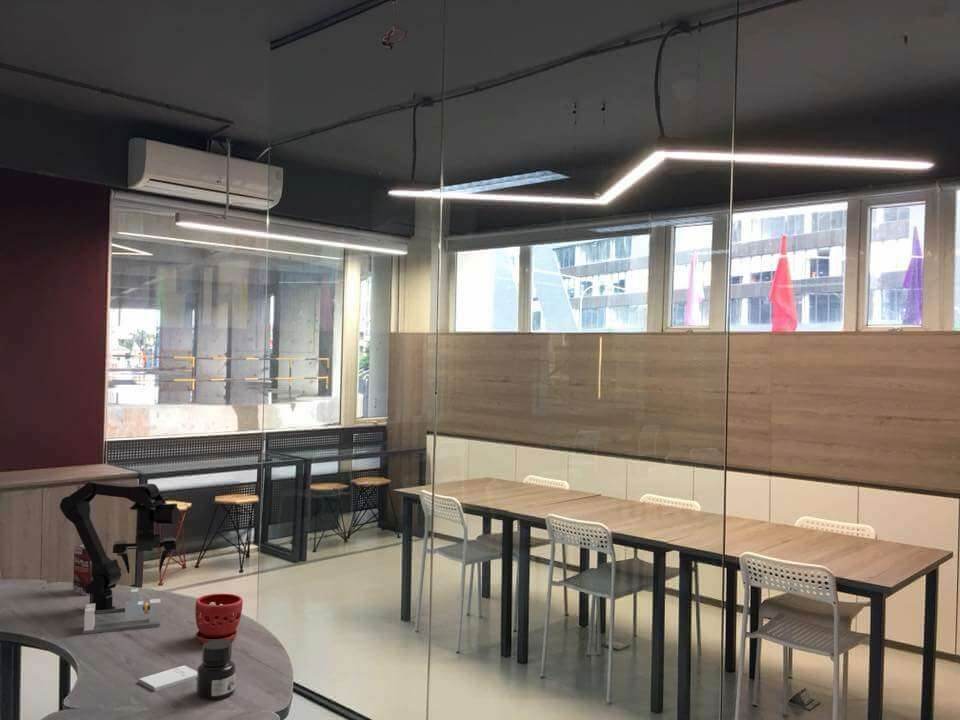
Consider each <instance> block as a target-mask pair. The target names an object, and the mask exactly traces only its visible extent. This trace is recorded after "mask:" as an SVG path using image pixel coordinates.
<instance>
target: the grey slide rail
mask: <svg viewBox="0 0 960 720" xmlns="http://www.w3.org/2000/svg"><path fill="white" fill-rule="evenodd" d="M119 613H120V614H121V613H125V607H121V608H114V609H109V610H97V611H95V604H90V603H87V604H86V606H85V609H84V624H83V630H82V635H88V634H87V633H91V634H99V633H98V632H101V633H108V632H107V631H111V632H121V631H128V630H138V629H151V627H152V628H159V627H158V626H160V627H161V598H153V599H149V602H144V605H143V615H144V614H145V615H146V614H149V616H148V617H137V618H131V619H130V618H129V619H120V620H108V621H98V622H97V621H96V615H108V614H109V615H110V614H119ZM120 630H121V631H120Z"/></svg>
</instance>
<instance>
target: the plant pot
mask: <svg viewBox="0 0 960 720" xmlns="http://www.w3.org/2000/svg"><path fill="white" fill-rule="evenodd" d="M243 601H244V600H243V597H241V595H237V594H232V593H212V594H206V595H205V594H204V595H202V596H200V597H198V598H196V600H195V608H194V609H195V613H194V614H195V624H196V627H197V630H198V631H196V634H195V638H196V640H197V641H198V642H200V643H202V644H205V643H206V642H209V641H213V640H227V641H230V642H231V641H233V640H234V639H235V638H236V637H237V636H238V630H237V628H238V626H239V624H240V621H241V617H242V613H243V612H242V611H243ZM211 603H214V604H211Z"/></svg>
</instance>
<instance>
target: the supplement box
mask: <svg viewBox="0 0 960 720" xmlns="http://www.w3.org/2000/svg"><path fill="white" fill-rule="evenodd" d="M73 552H74V553H73V579H72V580H73V581H72V584H73V585H72V586H73V587H72V592H73V591H74V593H78V592H80V593H79V594H81V593H84V594H83V595H85V594H87V593H86V589H85V587H86V586H87V585H88V584H89V583H90V582H91V581H93V579H92V575H91V570H92V563H91V561H90V559H89V556H88V554H87V552H86V550H85V548H84V545H83V544H79V545H75V546H74V549H73ZM87 596H90V595H89V594H88V595H87Z"/></svg>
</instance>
